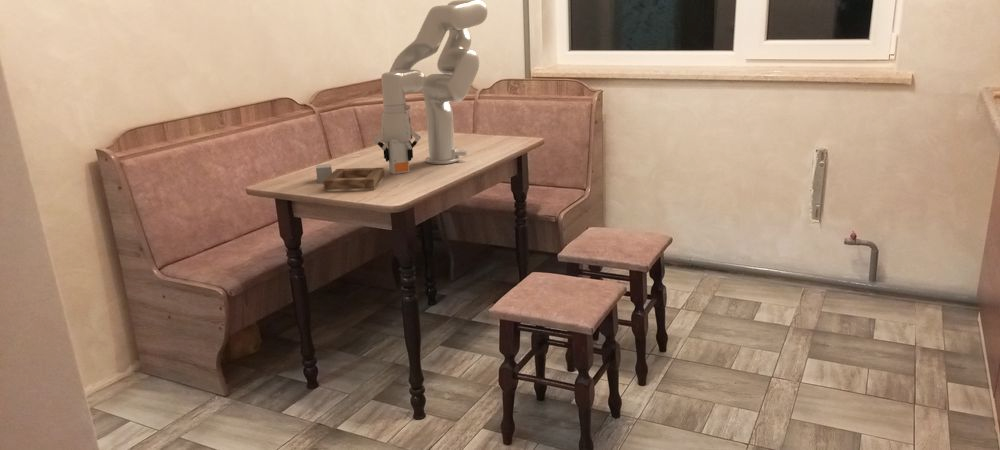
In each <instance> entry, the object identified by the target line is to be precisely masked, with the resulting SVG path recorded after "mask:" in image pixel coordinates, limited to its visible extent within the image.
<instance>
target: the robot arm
mask: <svg viewBox="0 0 1000 450" xmlns="http://www.w3.org/2000/svg"><path fill="white" fill-rule="evenodd" d="M487 17H488V7H487V5H486V4H485V2H483V1H482V0H452V1H450V2H448V3H447V4H446V5H435V6H432V7H431V8H430V10H429V11H428V13H427V15H426V17H425V19H424V21H423V23H422V25H421V27H420V29H419V31H418V33H417V35H416V37H415V39H414V40H413V41H412V42H411V43H410V44H409V45H407V47H405V48H404V49H403V50H402V51H401V52H400V53H399V54H398V55H397V56H396V57H395V59H394V61H393V63H392V65H391V67H390V69H389V71H387V72H384V73H382V74H381V78H380V79H381V90H382V93H381V94H382V102H383V103H382V105H383V113H382V115H381V131H380V132H379V133H378V134H376V136H375V137H373V141H374V142H375V144H377V145H378V146H379V147H380V148H381V149H382V151H383V159H384V160H385V162H388V163H389V155H388V143H390V140H398V142H401V143H403V142H405V143H406V145H407V146H408V150H407V151H408V161H409V162H410V161H412V159H414V153H413V152H414V151H413V148H415V146H416V145H417V144H418V142H419V141H420V140H421V136H420V135H419V134H418V133H417V132H415V131H414V130H413V128H412V120H411V115H410V112H408V111H409V110H411V105H410V104H409V105H408V104H407V103H406V93H417V92H418V93H419V92H420V91H422V94H423V95H422V96H423V98H424V104H425V110H426V124H427V139H428V140H427V141H428V143H427V144H428V153H429V154H428V156H427V157H425V163H426V164H430V165H431V164H432V165H445V164H446V165H448V164H453V163H454V164H455V163H457V162H460V157H467V156H468V150H465V149H463V150H462V149H461V150H458V149H457V146H455V131H454V130H455V129H454V112H453V108H452V105H451V103H460V102H462V101H464V100H465V98H466V97H467V95H468V93H469V91H470V89H471V87H472V85H473V83H474V81H475V78H476V76H477V74H478V71H479V67H480V59H479V56H478V54H477V53H476V51H474V50H473V49H470V47H471V44H472V37H471V33H470V31H469V28H472V27H476V26H479V25H481V24H483V23H484V22H485V20H486V19H487ZM447 32H448V36H447V40H446V42H445V44H444V46H443V49H442V50H441V53H440V55H439V57H438V60H437V63H436V65H437V69H438V71H439V72H440V73H432V74H429V75H427V76H426V75H425V74H424V72H422V71H421V70H418V69H412V68H413V67H414V66H415V65H416V64H418V63H419V62H420V61H422V60H424V59H427V58H429V57H431V56H433V55H435V54H436V53H437V52H438V51H439V49H440V46H441V44H442V41H443V40H444V38H445V36H446V33H447ZM380 138H381V140H380ZM413 138H414V141H413V142H412V140H413Z"/></svg>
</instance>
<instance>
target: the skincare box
mask: <svg viewBox="0 0 1000 450" xmlns="http://www.w3.org/2000/svg"><path fill="white" fill-rule="evenodd" d="M407 150H408V146H407V145H406V143H405V142H403V143H401V142H398V140H390V143H388V155H389V161H388V164H389V165H388V166H389V168H388V169H389V173H391V174H393V175H396V174H404V173H410V161H408V151H407Z"/></svg>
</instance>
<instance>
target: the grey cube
mask: <svg viewBox="0 0 1000 450" xmlns="http://www.w3.org/2000/svg"><path fill="white" fill-rule="evenodd" d="M315 170H316V172H315V173H316V180H317V184H318V183H324V180H325V179H326V178H327V177H328V176H329V175H331V174H332V173H333V168H332V164H331V163H328V164H327V163H326V164H316V165H315Z"/></svg>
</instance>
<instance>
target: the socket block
mask: <svg viewBox="0 0 1000 450" xmlns="http://www.w3.org/2000/svg"><path fill="white" fill-rule="evenodd" d="M384 179H385V168H384V167H360V168H359V167H358V168H357V167H354V168H353V167H351V168H336V169H335V170H334V171H332V174H331V175H329V176H328V177H327V178H326V179H325V180H324V182H323V185H324V186H323V187H324V192H352V191H355V192H358V191H360V192H361V191H375V190H376V189H377V188H378V187H379V185H380V184H381V183H382V182H383V180H384Z"/></svg>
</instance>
